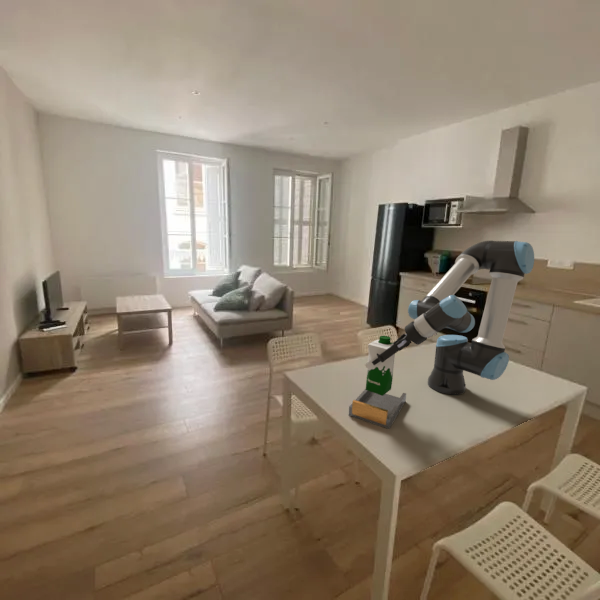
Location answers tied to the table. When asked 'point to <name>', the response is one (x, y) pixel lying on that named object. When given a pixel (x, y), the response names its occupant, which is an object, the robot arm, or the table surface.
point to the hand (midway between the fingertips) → (371, 363)
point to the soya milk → (380, 367)
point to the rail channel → (377, 408)
